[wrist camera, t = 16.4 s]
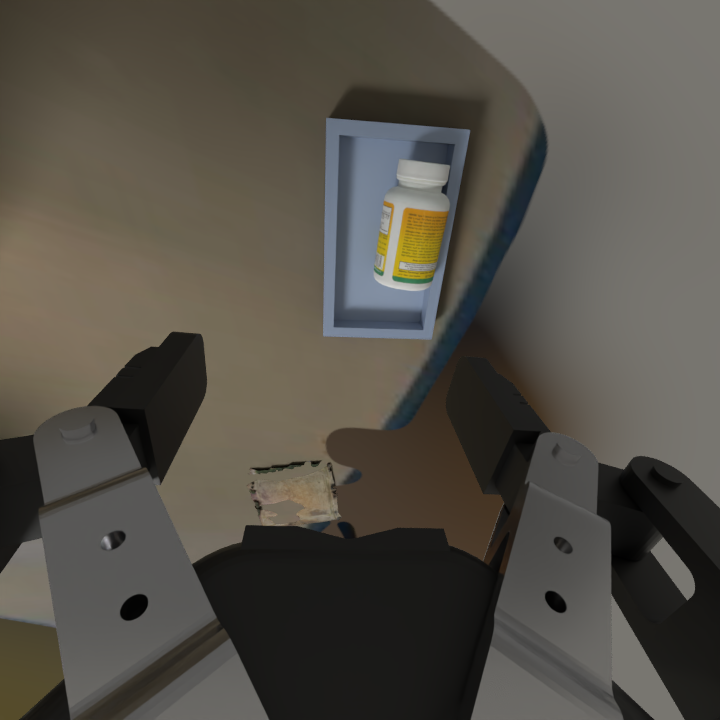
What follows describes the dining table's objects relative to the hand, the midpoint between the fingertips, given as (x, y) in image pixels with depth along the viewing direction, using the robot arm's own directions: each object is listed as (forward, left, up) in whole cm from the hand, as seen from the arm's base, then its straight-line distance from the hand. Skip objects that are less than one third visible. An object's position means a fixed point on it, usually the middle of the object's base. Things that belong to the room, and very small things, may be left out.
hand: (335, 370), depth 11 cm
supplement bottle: (-1, -7, -21) cm, 23 cm away
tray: (+1, -5, -25) cm, 25 cm away
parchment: (-35, -13, -25) cm, 45 cm away
